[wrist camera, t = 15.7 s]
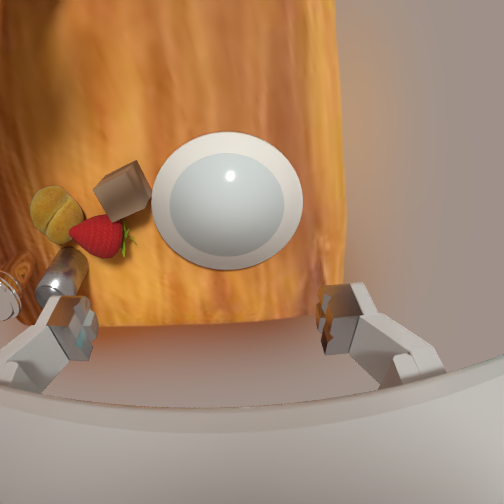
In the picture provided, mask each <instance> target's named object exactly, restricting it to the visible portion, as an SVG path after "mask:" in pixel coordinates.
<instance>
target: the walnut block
mask: <svg viewBox="0 0 504 504" xmlns="http://www.w3.org/2000/svg"><path fill="white" fill-rule="evenodd" d="M93 191H94V193H95V195H96V197H97V198H98V200H99V202H100V203H101V205H102V207H103V209H104V210H105V212H106V214H107V215H108V217H109V219H110V220H111V222H112V223H113V222H115V221H117V220H120V219H122V218H124V217H126V216H129V215H131V214H133V213H135V212H138V211H140V210H142V209H145V207H146V205H147V203H148V201H149V199H150V197H151V195H152V189H151V187H150V185H149V183H148V182H147V180H146V178H145V176H144V174H143V172H142V170H141V168H140V166H139V164H138V162H137V160H136V161H134V162H131V163H129V164H127V165H125V166H123V167H121V168H119V169H117V170H115V171H113V172H111V173H110V174H108V175H106V176H105V177H104V178H103V179H102V180H101V181H100V182H99V183H98V184H97V186H96V187H95V188H94V189H93Z"/></svg>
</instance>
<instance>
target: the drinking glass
mask: <svg viewBox="0 0 504 504" xmlns="http://www.w3.org/2000/svg"><path fill="white" fill-rule="evenodd" d="M87 271H88V261H87V259H86V257H85V256H84V255H83V254H82V253H81V252H80V251H79V250H77V249H75V248H72V247H64V248H61V249H60V250H59V251H58V253H57V254H56V256H55V257H54V259H53V261H52V262H51V264H50V265H49V267H48V269H47V270H46V272H45V274H44V275H43V277H42V279H41V280H40V282H39V284H38V285H37V287H36V289H35V297H36V300H37V302H38V304H39V305H40V306H41V307H42V308H43V309H44V307H45V305H46V303H47V301H48V300H49V298H50V297H51V296H53V295H57V296H63V295H66V296H76V294H77V292H78V290H79V288H80V285H81V283H82V281H83V279H84V277H85V275H86V273H87Z"/></svg>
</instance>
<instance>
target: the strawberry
mask: <svg viewBox="0 0 504 504" xmlns="http://www.w3.org/2000/svg"><path fill="white" fill-rule="evenodd" d="M128 232H129V229H128V230H127V231H126V229H125V220H124V221H123V226H122V224H121V222H120V220H117V221H115V222H113V223H112V222H111V220H110V219H109V217H108V215H107V214H106V215H98V216H94V217H92V218H89V219H87V220H85V221H83V222H81V223H79V224H77V225H76V226H73V227H71V228H70V229H69V232H68V233H69V236H70V237H71V238H72V239H74V240H75V241H76V242H77V243H78V244H79V245H80V246H81V247H82V248H84V249H85V250H86V251H87V252H89V253H90V254H91V255H94V256H97V257H100V258H111V257H113V256H114V255H115V254H117V252H118V251H119V249H120V247H121V248H122V253H123V257H125V240H124V238H127V237H130V236H127V235H128ZM130 238H131V237H130ZM131 239H132V238H131ZM132 240H133V239H132ZM133 241H134V240H133ZM134 243H135V242H134ZM135 244H136V243H135ZM136 245H137V244H136Z"/></svg>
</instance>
